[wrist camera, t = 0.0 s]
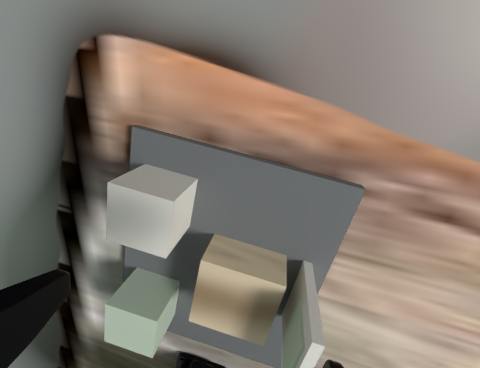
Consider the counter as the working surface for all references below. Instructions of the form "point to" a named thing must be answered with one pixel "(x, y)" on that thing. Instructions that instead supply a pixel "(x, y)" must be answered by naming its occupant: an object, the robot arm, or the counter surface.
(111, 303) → the sage cube
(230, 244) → the oak base block
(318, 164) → the counter surface
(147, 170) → the cream cube
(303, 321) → the mat
